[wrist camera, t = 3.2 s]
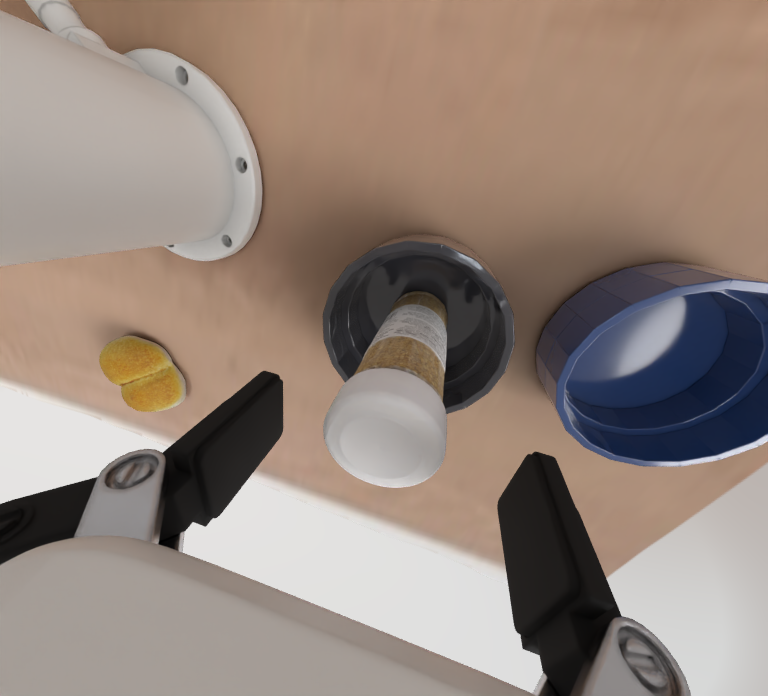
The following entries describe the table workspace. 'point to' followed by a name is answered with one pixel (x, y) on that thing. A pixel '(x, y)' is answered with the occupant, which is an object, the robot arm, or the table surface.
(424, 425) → the sprinkles bottle
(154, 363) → the bread roll
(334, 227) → the table surface
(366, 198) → the table surface
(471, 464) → the table surface
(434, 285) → the charcoal bowl
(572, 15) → the table surface
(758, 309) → the navy bowl
